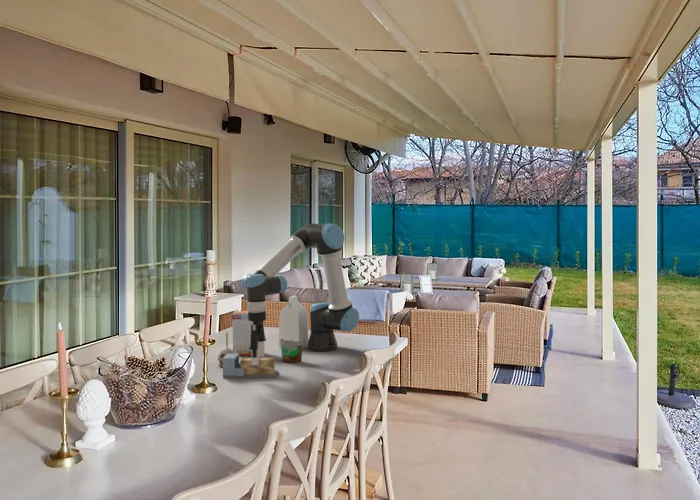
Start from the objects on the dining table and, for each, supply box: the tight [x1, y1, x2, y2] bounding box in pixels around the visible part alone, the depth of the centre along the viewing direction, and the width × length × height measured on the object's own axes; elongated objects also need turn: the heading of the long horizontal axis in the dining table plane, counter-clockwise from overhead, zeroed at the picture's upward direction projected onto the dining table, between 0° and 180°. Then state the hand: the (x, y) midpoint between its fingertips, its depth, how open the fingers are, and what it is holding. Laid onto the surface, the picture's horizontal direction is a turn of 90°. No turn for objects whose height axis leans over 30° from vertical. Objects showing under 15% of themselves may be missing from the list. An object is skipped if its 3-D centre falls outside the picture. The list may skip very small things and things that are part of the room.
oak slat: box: [239, 356, 276, 375], centre depth 259 cm, size 14×4×6 cm, turn 94°
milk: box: [277, 295, 309, 350], centre depth 312 cm, size 12×12×26 cm
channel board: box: [222, 354, 279, 379], centre depth 260 cm, size 22×11×8 cm, turn 88°
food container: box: [278, 338, 304, 364], centre depth 282 cm, size 12×6×10 cm, turn 62°
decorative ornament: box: [217, 332, 235, 368], centre depth 276 cm, size 8×8×15 cm
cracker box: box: [231, 310, 265, 356], centre depth 297 cm, size 14×6×21 cm, turn 84°
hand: (258, 360), depth 260 cm, fingers open, 13 cm apart
